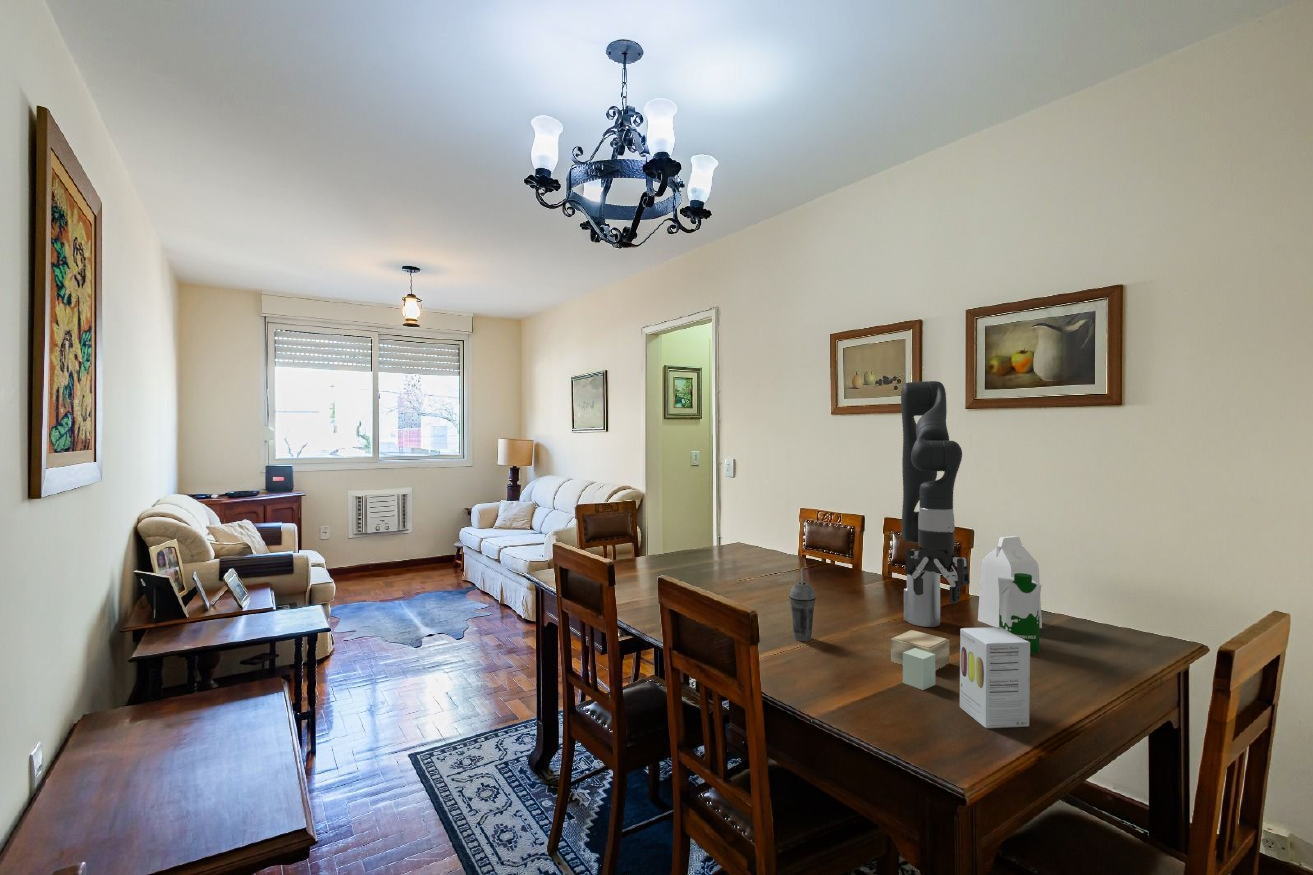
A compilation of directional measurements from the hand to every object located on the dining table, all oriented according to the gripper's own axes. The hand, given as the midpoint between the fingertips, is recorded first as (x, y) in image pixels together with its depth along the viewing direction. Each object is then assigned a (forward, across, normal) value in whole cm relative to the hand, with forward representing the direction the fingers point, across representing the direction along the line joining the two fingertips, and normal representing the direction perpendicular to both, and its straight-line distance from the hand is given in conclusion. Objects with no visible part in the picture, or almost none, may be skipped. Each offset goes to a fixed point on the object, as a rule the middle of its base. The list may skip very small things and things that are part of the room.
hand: (936, 598), depth 141 cm
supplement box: (+20, +16, -5) cm, 26 cm away
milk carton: (+19, -1, +39) cm, 44 cm away
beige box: (+20, -10, +9) cm, 23 cm away
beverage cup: (+19, -38, -2) cm, 43 cm away
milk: (+19, -13, +58) cm, 62 cm away
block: (+20, -2, -3) cm, 20 cm away
